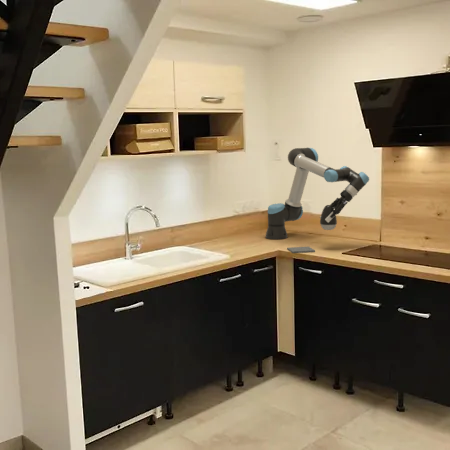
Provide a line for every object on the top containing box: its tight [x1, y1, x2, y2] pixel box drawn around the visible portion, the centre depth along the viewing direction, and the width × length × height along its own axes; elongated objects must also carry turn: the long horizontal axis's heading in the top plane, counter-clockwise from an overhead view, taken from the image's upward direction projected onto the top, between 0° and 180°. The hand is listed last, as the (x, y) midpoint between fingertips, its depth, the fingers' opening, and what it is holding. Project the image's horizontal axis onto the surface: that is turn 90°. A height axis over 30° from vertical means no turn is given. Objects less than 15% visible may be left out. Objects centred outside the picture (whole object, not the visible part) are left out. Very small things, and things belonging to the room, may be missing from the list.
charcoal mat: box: [286, 246, 316, 254], centre depth 356 cm, size 13×14×1 cm
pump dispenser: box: [319, 204, 338, 231], centre depth 357 cm, size 10×10×15 cm
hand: (323, 220), depth 357 cm, fingers closed on pump dispenser, 10 cm apart
